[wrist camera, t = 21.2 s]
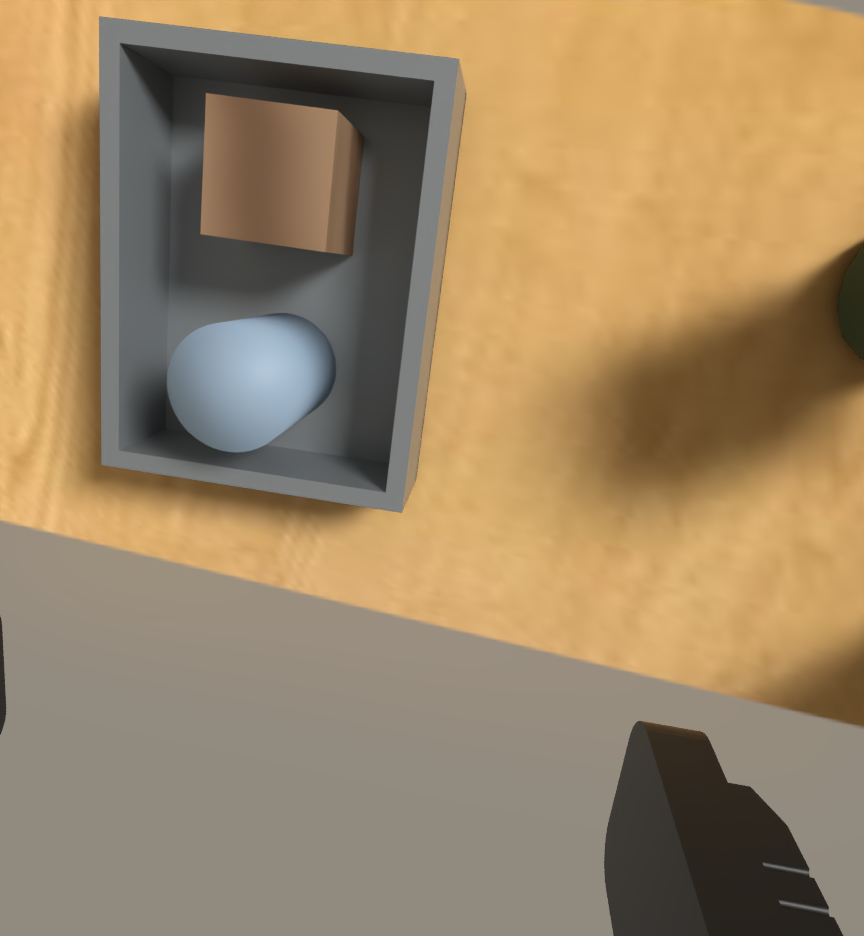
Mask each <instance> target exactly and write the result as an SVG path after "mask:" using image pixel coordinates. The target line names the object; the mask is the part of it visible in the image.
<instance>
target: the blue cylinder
mask: <svg viewBox="0 0 864 936" xmlns="http://www.w3.org/2000/svg"><path fill="white" fill-rule="evenodd" d="M335 378H336V359H335V355H334V351H333V349H332V346H331V344H330V342H329V340H328V339H327V337H326V336H325V335H324V333H323V332H322V331H321V330H320V329H319V328H318V327H317V326H316V325H315V324H313V323H312V322H310V321H309V320H307V319H305V318H303V317H301V316H298V315H295V314H289V313H274V314H268V315H262V316H256V317H250V318H244V319H238V320H232V321H227V322H221V323H215V324H210V325H206V326H204V327H201V328H199V329H197V330H195V331H194V332H192V333H191V334H189V335H188V336H187V337H185V339H184V340H183V341H182V342H181V343H180V344H179V345H178V347H177V348H176V350H175V352H174V354H173V356H172V358H171V361H170V364H169V368H168V373H167V390H168V395H169V399H170V402H171V406H172V408H173V410H174V412H175V414H176V416H177V418H178V419H179V421H180V422H181V424H182V425H183V426H184V428H185V429H186V430H187V431H188V432H189V433H190V434H191V435H192V436H194V437H195V438H196V439H197V440H199V441H201V442H202V443H204V444H206V445H208V446H210V447H212V448H215V449H218V450H221V451H226V452H246V451H251V450H254V449H257V448H260V447H262V446H264V445H266V444H267V443H269V442H270V441H272V440H273V439H274V438H276V437H277V436H279V435H280V434H281V433H283V432H284V431H286V430H287V429H288V428H290V427H291V426H293V425H294V424H295V423H297V422H298V421H300V420H301V419H302V418H304V417H305V416H307V415H308V414H309V413H311V412H312V411H314V410H315V409H316V408H318V407H319V406H320V405H321V404H322V403H323V402H324V401H325V400H326V399H327V398H328V396H329V394H330V393H331V391H332V388H333V386H334V382H335Z"/></svg>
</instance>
